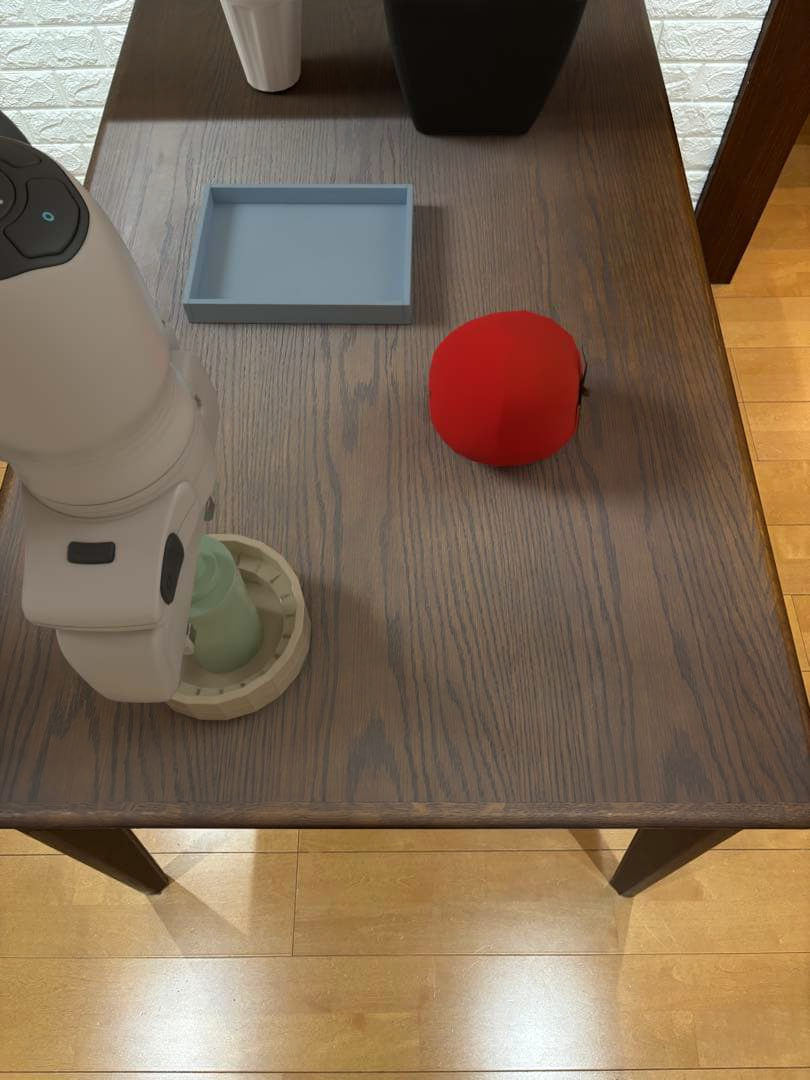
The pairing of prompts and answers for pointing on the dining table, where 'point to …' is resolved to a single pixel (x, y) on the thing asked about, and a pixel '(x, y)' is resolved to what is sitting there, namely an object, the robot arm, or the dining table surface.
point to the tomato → (507, 388)
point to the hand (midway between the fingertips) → (193, 575)
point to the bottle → (222, 612)
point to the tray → (302, 254)
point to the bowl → (279, 649)
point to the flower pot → (479, 60)
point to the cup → (267, 40)
